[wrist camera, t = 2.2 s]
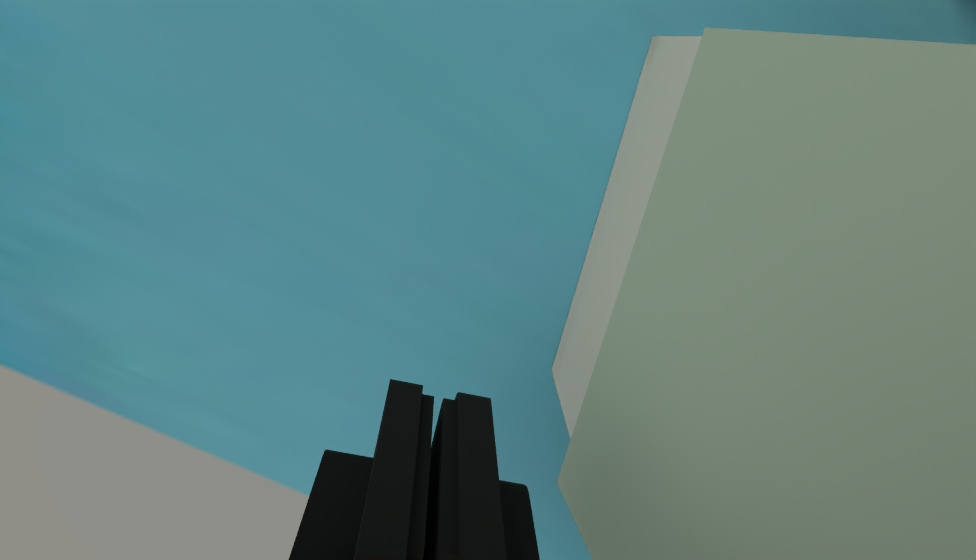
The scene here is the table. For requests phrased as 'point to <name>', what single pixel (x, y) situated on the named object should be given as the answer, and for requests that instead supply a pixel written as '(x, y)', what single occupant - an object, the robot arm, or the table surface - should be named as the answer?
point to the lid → (795, 316)
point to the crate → (621, 215)
